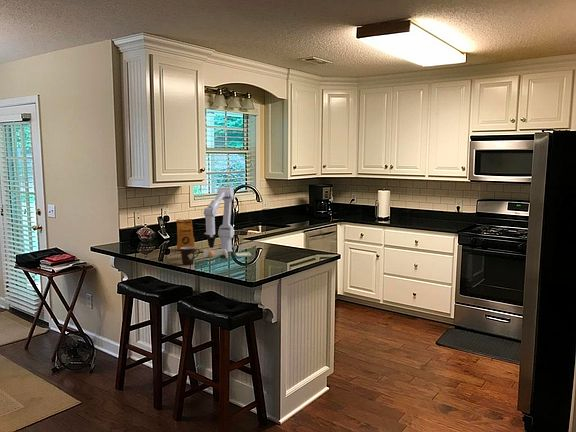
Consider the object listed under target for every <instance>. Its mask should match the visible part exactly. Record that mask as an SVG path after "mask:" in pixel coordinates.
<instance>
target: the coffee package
mask: <svg viewBox="0 0 576 432" xmlns="http://www.w3.org/2000/svg"><path fill="white" fill-rule="evenodd" d="M192 220H193V219H192V218H187V219H185V218H184V219H175V222H176V236H177V239H176V240H177V241H176V249H177V250H178V251H181V250H180V248H182V247H195V245H196V244H195V243H196V242H195V237H194V232H193V231H194V228H193V221H192ZM195 248H196V247H195Z"/></svg>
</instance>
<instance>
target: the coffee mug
mask: <svg viewBox="0 0 576 432" xmlns="http://www.w3.org/2000/svg"><path fill="white" fill-rule="evenodd" d="M197 250H198V253H197V254H196V255H195V252H196V251H197ZM179 251H180V254H181V261H182V266H193V265H194V262H195V260H194V259H196V258H197V257H199V254H200V253H201V251H200V249H199V248H196V247H182V248H180V250H179Z"/></svg>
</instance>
